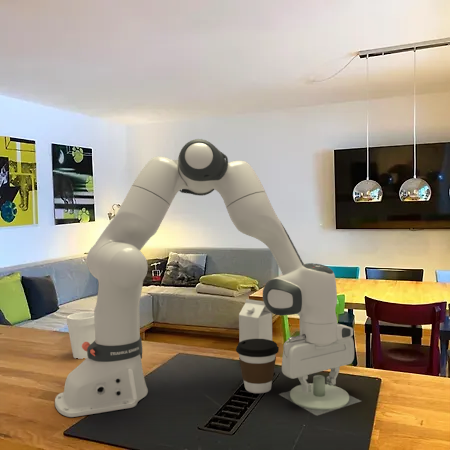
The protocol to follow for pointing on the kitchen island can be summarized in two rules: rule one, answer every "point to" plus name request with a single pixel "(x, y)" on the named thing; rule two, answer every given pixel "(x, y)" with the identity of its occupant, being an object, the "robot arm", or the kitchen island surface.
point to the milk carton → (255, 321)
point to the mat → (319, 412)
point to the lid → (320, 395)
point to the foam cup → (81, 332)
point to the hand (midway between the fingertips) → (319, 388)
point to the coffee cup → (257, 363)
